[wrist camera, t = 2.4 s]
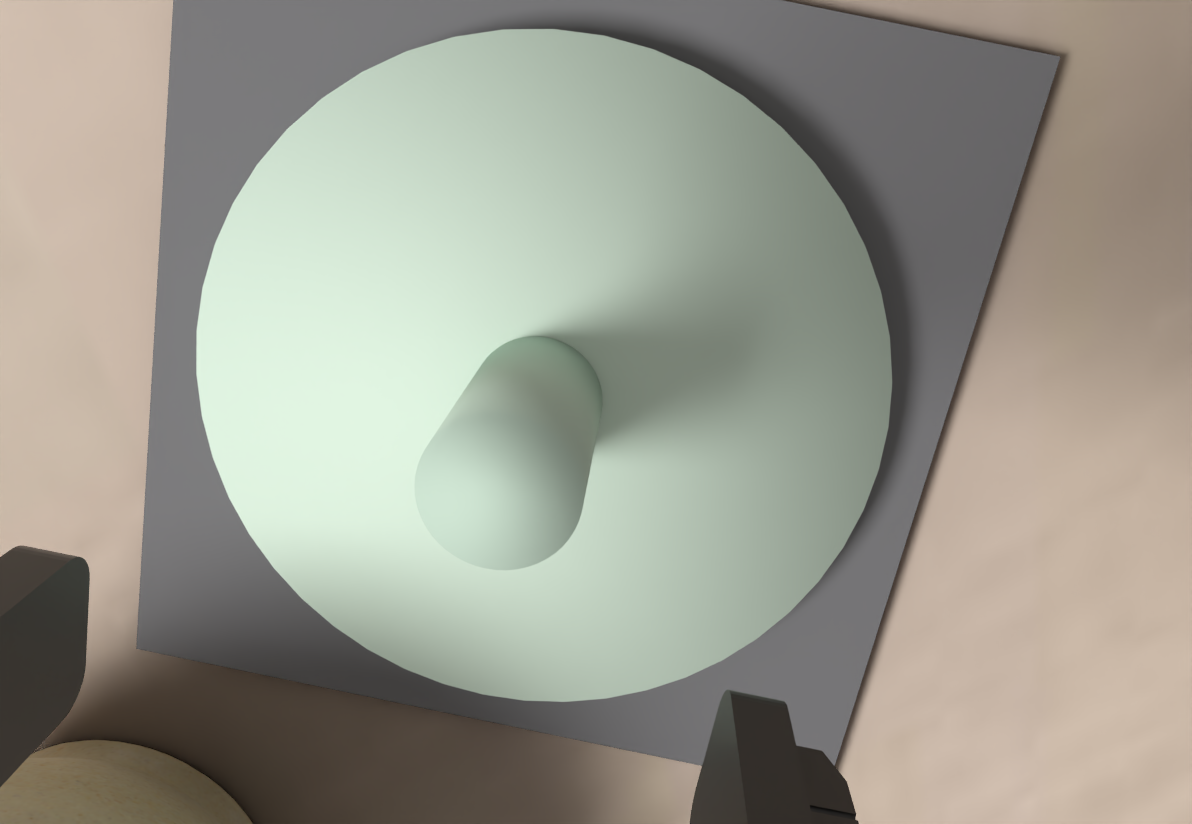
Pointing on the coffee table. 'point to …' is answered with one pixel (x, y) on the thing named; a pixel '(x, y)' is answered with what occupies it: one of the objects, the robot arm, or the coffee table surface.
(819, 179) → the lid
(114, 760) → the planter bowl
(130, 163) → the coffee table surface
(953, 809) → the coffee table surface
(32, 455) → the coffee table surface
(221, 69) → the mat
